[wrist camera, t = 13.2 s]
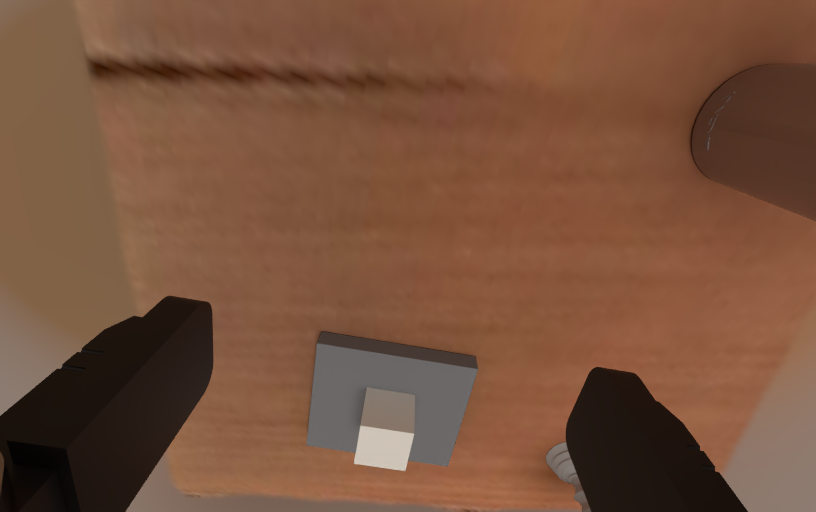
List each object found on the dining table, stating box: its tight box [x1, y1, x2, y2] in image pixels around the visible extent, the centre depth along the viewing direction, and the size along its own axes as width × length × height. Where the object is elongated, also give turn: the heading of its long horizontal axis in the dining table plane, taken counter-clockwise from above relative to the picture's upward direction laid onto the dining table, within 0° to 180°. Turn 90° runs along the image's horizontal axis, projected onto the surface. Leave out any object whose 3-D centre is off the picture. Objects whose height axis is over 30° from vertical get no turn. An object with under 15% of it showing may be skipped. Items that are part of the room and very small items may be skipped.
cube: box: [354, 387, 415, 471], centre depth 42 cm, size 5×5×5 cm
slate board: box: [307, 332, 478, 466], centre depth 45 cm, size 16×14×2 cm
